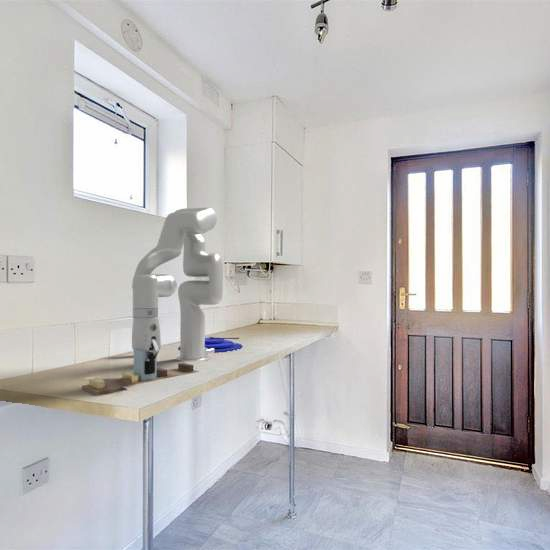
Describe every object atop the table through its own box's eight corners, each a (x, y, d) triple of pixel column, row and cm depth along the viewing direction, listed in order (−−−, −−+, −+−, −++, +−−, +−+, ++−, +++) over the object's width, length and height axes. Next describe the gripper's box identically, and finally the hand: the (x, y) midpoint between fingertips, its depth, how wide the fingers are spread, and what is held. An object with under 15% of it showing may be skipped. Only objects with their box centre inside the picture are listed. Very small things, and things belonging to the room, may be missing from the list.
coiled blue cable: (166, 337, 189) (218, 331, 210) (166, 348, 189) (218, 342, 210) (202, 343, 168) (255, 337, 189) (202, 356, 168) (255, 348, 188)
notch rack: (182, 370, 139) (182, 361, 139) (199, 374, 132) (199, 365, 132) (82, 389, 114) (82, 378, 114) (97, 395, 107) (97, 384, 107)
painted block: (148, 375, 127) (148, 347, 127) (156, 377, 123) (156, 348, 124) (133, 378, 123) (133, 349, 123) (141, 380, 120) (141, 350, 120)
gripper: (171, 314, 121) (170, 374, 120) (142, 312, 132) (142, 366, 132) (148, 316, 115) (148, 378, 115) (121, 313, 127) (120, 370, 126)
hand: (145, 371), depth 123 cm, fingers closed on painted block, 4 cm apart
